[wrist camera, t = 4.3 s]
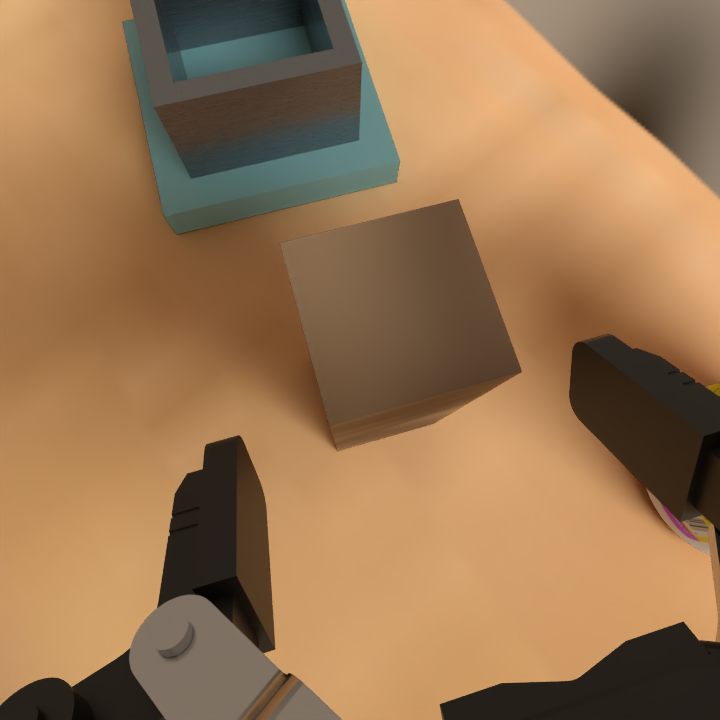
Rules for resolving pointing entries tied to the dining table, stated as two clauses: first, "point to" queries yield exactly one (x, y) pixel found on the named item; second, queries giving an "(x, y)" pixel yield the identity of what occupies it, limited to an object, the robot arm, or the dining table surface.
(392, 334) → the rail post
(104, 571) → the dining table surface
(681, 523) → the supplement bottle
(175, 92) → the square socket frame
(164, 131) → the plate
